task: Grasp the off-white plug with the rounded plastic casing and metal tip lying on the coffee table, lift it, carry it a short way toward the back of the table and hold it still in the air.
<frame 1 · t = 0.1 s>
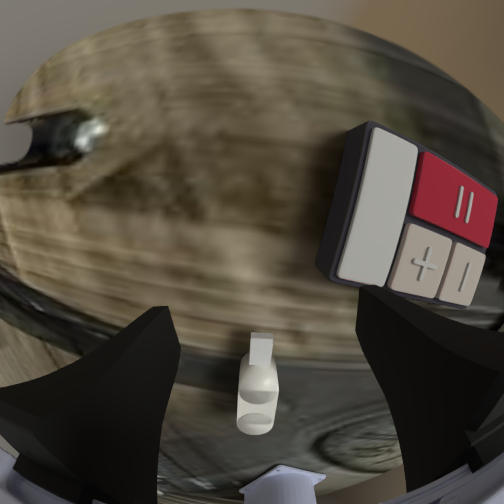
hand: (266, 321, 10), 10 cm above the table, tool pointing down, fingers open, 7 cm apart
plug: (256, 381, 22), on the table
calculator: (410, 223, 20), on the table
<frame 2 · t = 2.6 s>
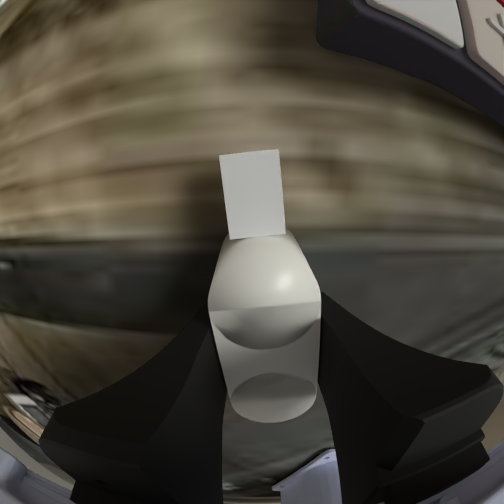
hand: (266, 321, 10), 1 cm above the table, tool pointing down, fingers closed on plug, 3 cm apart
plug: (264, 301, 11), on the table, touching gripper
calculator: (451, 18, 7), on the table
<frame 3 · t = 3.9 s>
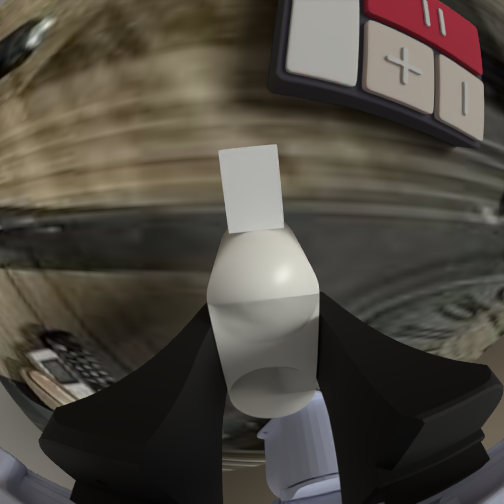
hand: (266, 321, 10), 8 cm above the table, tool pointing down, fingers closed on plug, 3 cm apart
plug: (263, 297, 11), point 7 cm above the table, touching gripper
calculator: (381, 50, 13), on the table
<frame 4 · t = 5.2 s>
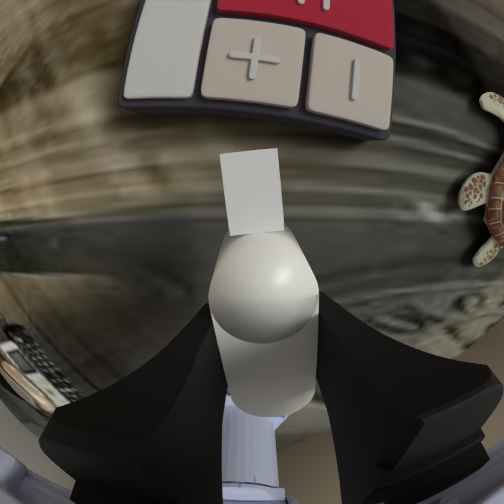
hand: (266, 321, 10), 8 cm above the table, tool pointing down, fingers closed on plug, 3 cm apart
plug: (263, 298, 11), point 7 cm above the table, touching gripper
calculator: (265, 45, 14), on the table
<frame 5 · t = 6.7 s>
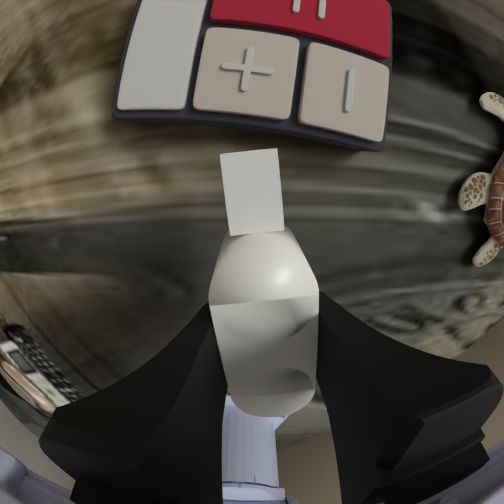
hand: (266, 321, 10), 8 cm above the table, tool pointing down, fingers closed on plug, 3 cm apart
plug: (263, 298, 11), point 7 cm above the table, touching gripper
calculator: (260, 53, 14), on the table
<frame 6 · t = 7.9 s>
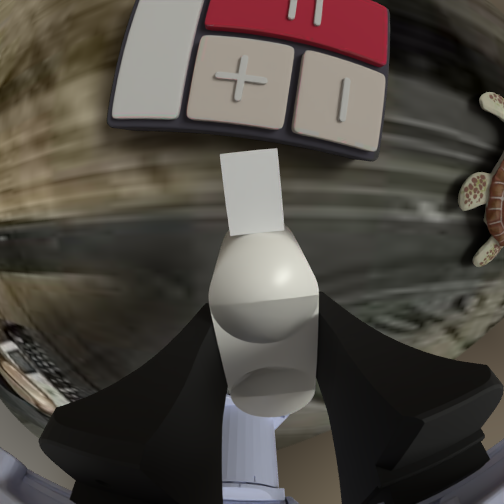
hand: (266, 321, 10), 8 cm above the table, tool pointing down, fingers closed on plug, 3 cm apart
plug: (263, 298, 11), point 7 cm above the table, touching gripper
calculator: (256, 59, 14), on the table
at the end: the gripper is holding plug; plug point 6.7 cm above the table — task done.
